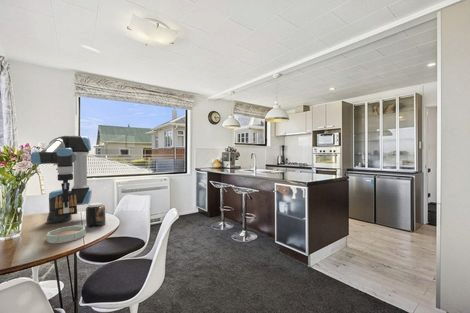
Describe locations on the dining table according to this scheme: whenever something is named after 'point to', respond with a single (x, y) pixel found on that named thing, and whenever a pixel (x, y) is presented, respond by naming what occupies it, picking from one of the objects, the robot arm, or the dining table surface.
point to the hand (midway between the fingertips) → (66, 212)
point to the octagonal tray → (66, 234)
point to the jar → (95, 215)
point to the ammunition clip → (60, 209)
